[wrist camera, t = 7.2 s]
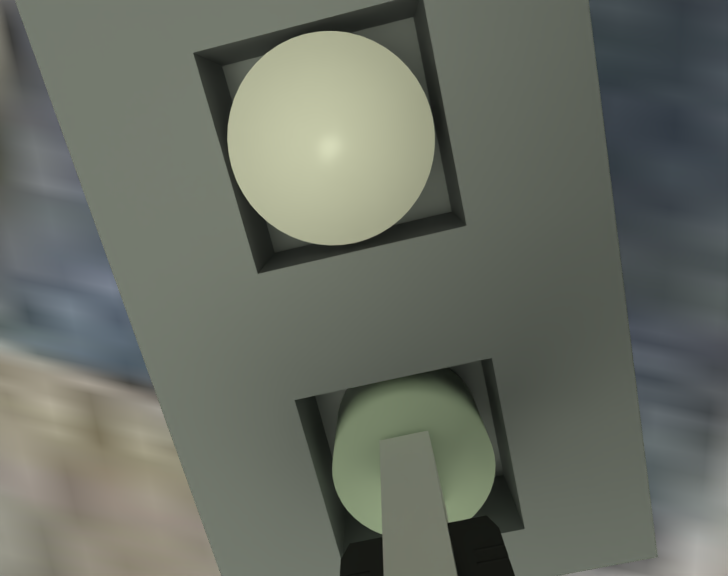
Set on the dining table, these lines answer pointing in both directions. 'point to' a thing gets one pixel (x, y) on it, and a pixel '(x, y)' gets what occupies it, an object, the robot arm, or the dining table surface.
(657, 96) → the dining table surface
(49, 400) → the dining table surface
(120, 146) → the button console
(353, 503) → the sage button
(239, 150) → the cream button
